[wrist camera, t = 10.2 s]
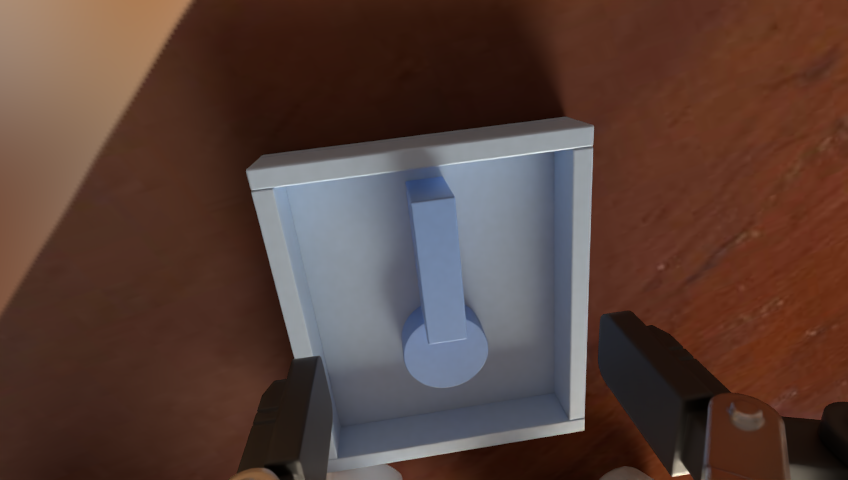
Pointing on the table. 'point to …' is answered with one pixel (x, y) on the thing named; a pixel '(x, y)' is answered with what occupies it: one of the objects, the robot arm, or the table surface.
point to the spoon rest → (366, 473)
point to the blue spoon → (439, 293)
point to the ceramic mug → (625, 474)
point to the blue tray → (399, 293)
